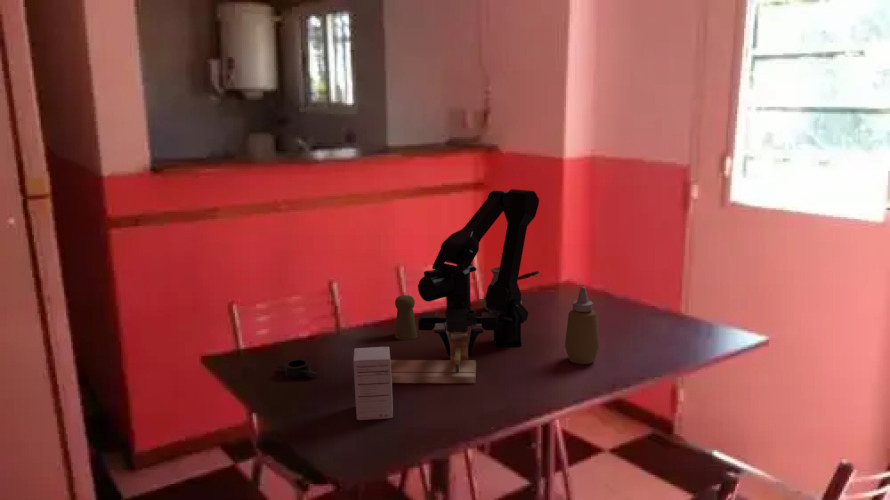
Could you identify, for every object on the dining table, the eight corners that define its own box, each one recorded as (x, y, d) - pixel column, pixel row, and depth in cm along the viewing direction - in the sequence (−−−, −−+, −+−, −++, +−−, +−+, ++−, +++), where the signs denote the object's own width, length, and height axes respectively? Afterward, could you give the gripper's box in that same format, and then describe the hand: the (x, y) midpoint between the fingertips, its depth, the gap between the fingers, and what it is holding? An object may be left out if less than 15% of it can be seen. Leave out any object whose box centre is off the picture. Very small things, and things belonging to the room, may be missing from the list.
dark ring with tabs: (286, 386, 161) (285, 373, 160) (276, 371, 170) (275, 359, 169) (320, 379, 164) (319, 367, 164) (308, 365, 173) (307, 353, 173)
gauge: (468, 357, 176) (467, 333, 174) (466, 381, 161) (465, 355, 160) (451, 357, 176) (451, 333, 175) (448, 381, 161) (447, 355, 160)
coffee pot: (474, 311, 213) (473, 261, 210) (504, 304, 219) (503, 255, 216) (524, 328, 196) (524, 275, 193) (554, 320, 203) (554, 268, 200)
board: (475, 366, 169) (475, 359, 169) (475, 383, 160) (475, 376, 159) (382, 366, 171) (382, 359, 170) (376, 382, 161) (375, 375, 161)
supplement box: (356, 405, 150) (353, 347, 147) (392, 403, 150) (390, 345, 147) (355, 421, 142) (352, 360, 140) (393, 418, 143) (390, 358, 140)
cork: (418, 332, 195) (417, 293, 192) (415, 340, 189) (414, 299, 186) (396, 332, 195) (395, 293, 193) (392, 339, 189) (391, 299, 187)
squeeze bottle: (602, 357, 173) (604, 284, 170) (594, 368, 166) (596, 293, 163) (569, 353, 177) (570, 281, 173) (560, 364, 170) (561, 290, 166)
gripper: (415, 302, 162) (417, 367, 165) (498, 301, 161) (498, 368, 164) (419, 289, 173) (421, 351, 176) (498, 288, 172) (498, 351, 175)
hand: (459, 355), depth 172 cm, fingers open, 4 cm apart
